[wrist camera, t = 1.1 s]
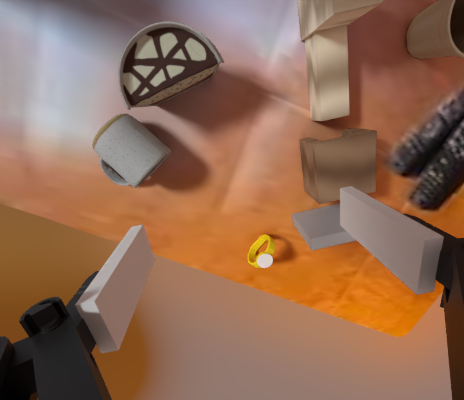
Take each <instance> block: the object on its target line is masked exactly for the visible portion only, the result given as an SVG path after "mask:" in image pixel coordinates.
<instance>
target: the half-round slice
mask: <svg viewBox="0 0 464 400" xmlns="http://www.w3.org/2000/svg"><path fill="white" fill-rule="evenodd" d="M221 62H222V63H224V61H223V59H222V57H221V55H220V53H219V51H218V50H217V49H216V47H215V46H214V45H213V43H212V42H211V41H210V40H209V39H208V38H207V37H205V36H204V35H203V34H202V33H200V32H199V31H197V30H196V29H194V28H192V27H190V26H188V25H185V24H182V23H178V22H172V21H166V22H158V23H154V24H151V25H149V26H146V27H145V28H143V29H141V30H140V31H138V32H137V33H136V34H135V35H134V36H133V37H132V38H131V40H130V41H129V42H128V44H127V45H126V47H125V49H124V51H123V53H122V57H121V60H120V65H119V86H120V91H121V95H122V98H123V101H124V103H125V105H126V107H127V109H129V110H130V108H131V107H147V106H157V105H159V104H161V103H163V102H165V101H167V100H169V99H171V98H173V97H175V96H178V95H180V94H182V93H184V92H186V91H188V90H190V89H192V88H194V87H196V86H198V85H200V84H202V83H204V82H206V81H208V80H210V79H212V78H213V77H214V75H215V73H216V71H217V69H218V66H219V64H220V63H221Z"/></svg>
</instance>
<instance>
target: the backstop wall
mask: <svg viewBox="0 0 464 400" xmlns="http://www.w3.org/2000/svg"><path fill="white" fill-rule="evenodd" d="M292 219H293V224H294V226H295V227H296V228H297V230H298V231H299V233H300V234H301V236H302V237H303V239H304V240H305V241H306V243H307V244H308V246H309V247H310V249H311V250H316V249H321V248H325V247H330V246H334V245H339V244H343V243H348V242H352V241H357V240H356V239H355V238H354V237H352V236H351V235H350V234H349V233H348V232H347V231H346V230H345V229H344V228H343V227H341V226H340V203H339V204H335V205H330V206H326V207H321V208H317V209H312V210H308V211H303V212H299V213H294V214H292Z"/></svg>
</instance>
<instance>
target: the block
mask: <svg viewBox="0 0 464 400" xmlns="http://www.w3.org/2000/svg"><path fill="white" fill-rule="evenodd" d="M376 137H377V131H376V130H367V129H358V128H348V129H344V130H343V137H339V138H335V139H330V140H326V141H319V140H316V139H312V138H304V139H300V150H301V159H302V169H303V179H304V188H305V192H306V193H308V194H309V195H310V196H311V197H312V198H313V199H314V200H315V201H317V202H318V203H319V204H322V203H327V202H331V201H336V200H340V188H344V187H350V186H352V187H354V188H356V189H358V190H359V191H361V192H363V193H365V194H367V193H372V192H376Z"/></svg>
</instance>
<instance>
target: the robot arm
mask: <svg viewBox="0 0 464 400" xmlns="http://www.w3.org/2000/svg"><path fill="white" fill-rule="evenodd" d="M340 226H341V227H343V228H344V229H345V230H346V231H347V232H348V233H349V234H350V235H351V236H352V237H354V238H355V239H356V240H357V241H358V242H359V243H360V244H361V245H362V246H364V247H365V248H366V249H367V250H368V251H369V252H370V253H371V254H372V255H373V256H375V257H376V258H377V259H378V260H379V261H380V262H381V263H382V264H383V265H384V266H386V267H387V268H388V269H389V270H390V271H391V272H392V273H393V274H394V275H395V276H397V277H398V278H399V279H400V280H401V281H402V282H403V283H404V284H405V285H406V286H408V287H409V288H410V289H411V290H412V291H413V292H414V293H415V294H416V295H417V294H423V293H428V292H433V291H434V288H435V282H436V280H437V281H438V282H440V283H441V284H442V285H444V289H443V295H442V299H441V304H440V307H443V308H444V312H445V323H446V333H447V345H448V356H449V367H450V379H451V389H452V400H464V238H458V239H457V238H456V237H454V236H452V235H450V234H448V233H446V232H444V231H442V230H440V229H438V228H436V227H433V225H431V224H429V223H426V222H425V221H423V220H421V219H419V218H417V217H415V216H411V215H408V214H401V213H400V212H398V211H396V210H394V209H392V208H390V207H389V206H387V205H385V204H383V203H381V202H379V201H378V200H376V199H374V198H372V197H370V196H368V195H367V194H365V193H363V192H361V191H359V190H358V189H356V188H354V187H352V186H350V187H344V188H340ZM154 261H155V258H154V255H153V252H152V249H151V246H150V243H149V240H148V237H147V234H146V232H145V229H144V226H143V225H138V226H133V227H131V228H130V230H129V231H128V232H127V234H126V235H125V237H124V238H123V239H122V241H121V242H120V243H119V245H118V246H117V248H116V249H115V251H114V252H113V253H112V255H111V256H110V257H109V259H108V260H107V261H106V263H105V264H104V266H103V267H102V268H101V270H100V271H96V272H95V273H93V274H92V275H91V276H90V277H88V279H87V280H86V281H85V282H84V283H83V285H82V286H81V288H79V290H78V291H77V294H75V295H74V297H73V298H72V299H71V300H70V302H69V303H68V304H67V305H66V307H65V305H64V304H63V302H62V300H61V299H60V298H59V297H52V298H48V299H45V300H43V301H41V302H39V303H37V304H35V305H34V306H32V307H31V308H30V309H28V310H27V311H26V312H25V313H24V314H23V315H22V316H21V318H20V324H21V325H22V327H23V328H24V330H25V331H26V333H27V334H28V336H29V337H28V338H25V339H23V340H20V341H18V342H15V343H13V344H11V342H10V341H9V339H8V338H6V337H0V400H37V399H38V400H112V399H111V396H110V394H109V392H108V389H107V387H106V385H105V382H104V380H103V378H102V375H101V373H100V371H99V368H98V366H97V364H96V362H95V359H94V357H93V355H92V353H91V352H92V350H93V348H94V347H95V344H96V345H97V347H98V349H99V350H100V352H101V353H106V352H111V351H116V350H119V348H120V345H121V342H122V340H123V337H124V335H125V333H126V330H127V328H128V325H129V323H130V320H131V318H132V315H133V313H134V311H135V308H136V306H137V303H138V301H139V298H140V296H141V293H142V290H143V288H144V285H145V283H146V281H147V278H148V276H149V273H150V271H151V268H152V266H153V263H154Z"/></svg>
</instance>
